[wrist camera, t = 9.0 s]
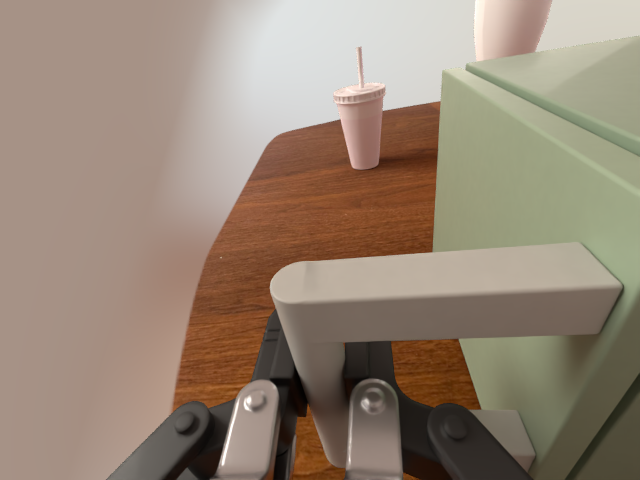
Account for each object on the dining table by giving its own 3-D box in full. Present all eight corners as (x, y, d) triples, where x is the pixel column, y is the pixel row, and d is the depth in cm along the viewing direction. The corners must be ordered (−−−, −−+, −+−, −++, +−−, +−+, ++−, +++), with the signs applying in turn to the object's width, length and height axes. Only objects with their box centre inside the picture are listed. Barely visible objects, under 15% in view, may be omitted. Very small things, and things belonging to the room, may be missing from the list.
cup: (547, 105, 52) (590, -76, 40) (495, 121, 50) (523, -65, 38) (497, 97, 60) (520, -55, 48) (451, 110, 58) (462, -45, 46)
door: (333, 503, 14) (238, 253, 6) (342, 265, 27) (315, 89, 19) (542, 513, 12) (757, 211, 5) (444, 258, 25) (460, 66, 18)
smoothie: (365, 177, 40) (354, 51, 33) (332, 167, 45) (316, 54, 37) (398, 160, 43) (396, 40, 35) (364, 152, 48) (356, 44, 40)
